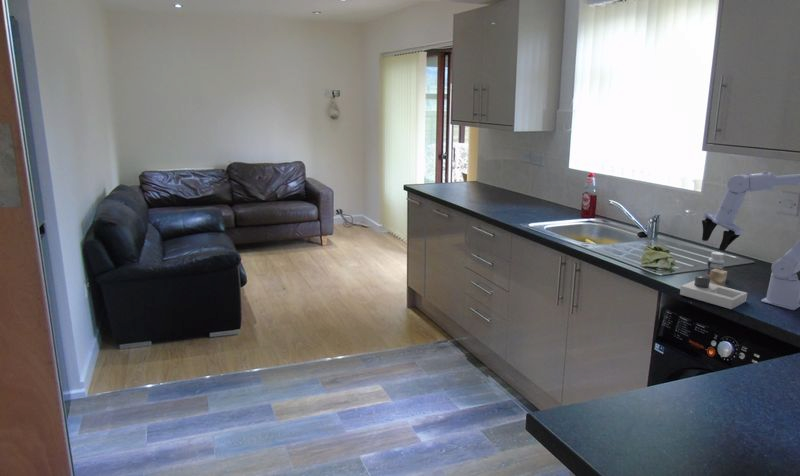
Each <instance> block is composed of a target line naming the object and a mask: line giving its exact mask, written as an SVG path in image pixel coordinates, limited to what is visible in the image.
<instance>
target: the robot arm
mask: <svg viewBox="0 0 800 476" xmlns="http://www.w3.org/2000/svg"><path fill="white" fill-rule="evenodd" d="M726 185H727V189H726V191H725V194H724V195H723V197H722V200H721V202H720V205H719V206H718V210H717V212H716V214H713V213H711V212H704V215H703V219H702V220H701V223H702V225H701V226H702V237H701V238H702V239H701V241H703V242H707V241H708V242H709V240H710V237H711V235H712V232H713V231H714V229H715V228H716V227H717V226H719V227H721V228H724V229H726V230H723V233H722V240H721V242H720V245H719V248H718V250H719V251H726V249H727V248H729V246H730V245H731V244H732V243H733V242H734V241H735V240H736V239H737V238H740V236H741V235H742V233H743V229H742V228H741V227H739V226H738V225H736V224H735V220H736V217H737V216H738V215H737V214H738V213H739V210H740V208H741V205H742V203H743V201H744V198H745V196H746V194H747V192H763V191H773V190H775V189H776V188H777V187H780V186H783V187H784V186H800V173H797V174H796V173H795V174H785V175H776V174H775V173H774V172H769V170H763V171H762V172H759V173H758V172H757V173H751V172H746V173H745V174H737V175H733V176H731V177H730V178H729V179H728V181H727V184H726ZM770 269H771V274H770V280H769V283H768V288H767V292H766V297H764V298H762V299H761V302H762V303H766V304H770V305H773V306H776V307H781V308H784V309H788V310H791V311H795V310H797V309H798V308H800V280H799V277H798V276H799V275H798V274H797V273H799V272H800V238H799V239H798V241H796V242H795V244H793V246H792V247H791V248H790V249H789V250H788V251H786V253H785V254H784V255H783V256H782V257H780V258H778V259H776V260H774V261H773V263H771V268H770Z"/></svg>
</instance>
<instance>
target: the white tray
mask: <svg viewBox="0 0 800 476" xmlns="http://www.w3.org/2000/svg"><path fill="white" fill-rule="evenodd" d="M679 295H680V296H684V297H688V298H691V299H694V300H697V301H702V302H705V303H708V304H712V305H715V306H719V307H723V308H725V309H728V310H733V309H734V308H736V307H738V306H740V305H742V304H744V303H745V302H747V296H748V292H745V291H741V290H737V289H734V288H730V287H726V286H725V287H723V286H720V285H716V284H712V283H710V278H709V277H708V276H707V275H703V274H702V275H701V274H698V275H695V279H694V280H692V281H690V282H687V283H685V284H682V285H680V291H679Z"/></svg>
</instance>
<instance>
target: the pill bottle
mask: <svg viewBox="0 0 800 476" xmlns="http://www.w3.org/2000/svg"><path fill="white" fill-rule="evenodd" d="M724 257H725V253H723V252H719V251H718V252H717V251H712V252H711V254H710V257H709V258H708V260H707V265H706V271H705V276H707V277H709V276H710V271H711V270H713V269H719V270H723V271H724V265H725V260H724Z"/></svg>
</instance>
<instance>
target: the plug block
mask: <svg viewBox="0 0 800 476" xmlns="http://www.w3.org/2000/svg"><path fill="white" fill-rule="evenodd" d="M727 276H728V271H726V270H724V269H723V270H719V269H713V270H711V271H710V276H709V278H710V283H712V284H716V285H720V286H723V287H726V281H727Z"/></svg>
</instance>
